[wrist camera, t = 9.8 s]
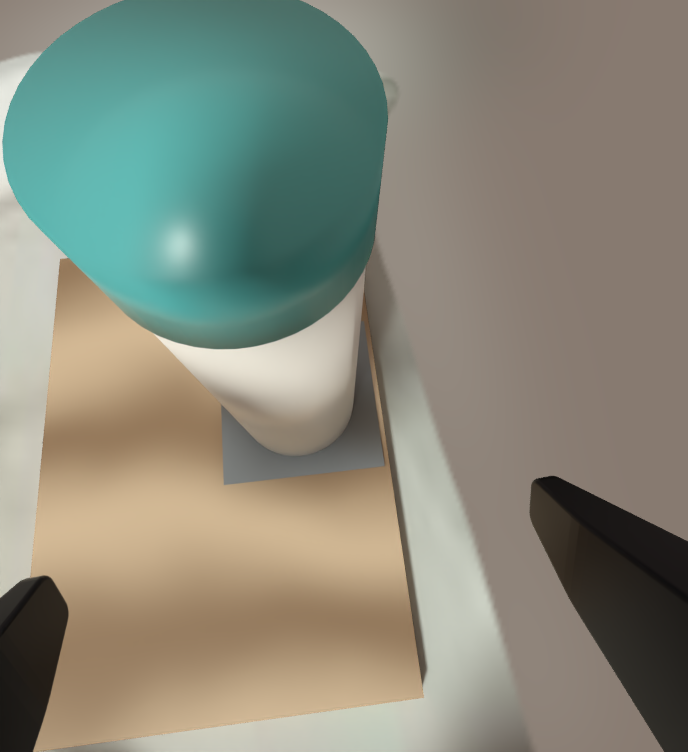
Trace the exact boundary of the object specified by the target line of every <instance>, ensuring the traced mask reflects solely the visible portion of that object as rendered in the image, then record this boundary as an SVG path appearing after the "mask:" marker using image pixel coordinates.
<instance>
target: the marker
mask: <svg viewBox="0 0 688 752" xmlns="http://www.w3.org/2000/svg"><path fill="white" fill-rule="evenodd" d="M387 124H388V112H387V100H386V95H385V91H384V87H383V83H382V80H381V78H380V75H379V73H378V71H377V68H376V66H375V64H374V63H373V61H372V59H371V58H370V57H369V55H368V53H367V51H366V50H365V49H364V48H363V46H362V45H361V44H360V43H359V42H358V40H357V39H356V38H355V37H354V36H353V35H352V34H351V33H350V32H349V31H348V30H346V29H345V28H344V27H343V26H342V25H341V24H340V23H339V22H337V21H336V20H334V19H333V18H331V17H330V16H328V15H327V14H325V13H324V12H322V11H320V10H319V9H317V8H315V7H313V6H311V5H309V4H307V3H305V2H303V1H300V0H124V1H121V2H118V3H116V4H113V5H111V6H109V7H107V8H105V9H103V10H101V11H98V12H97V13H94V14H93V15H91V16H90V17H88V18H86V19H84V20H83V21H81V22H79V23H78V24H76V25H75V26H74V27H72V28H71V29H70V30H68V31H67V32H65V33H64V34H63V35H61V36H60V37H59V38H58V39H57V40H56V41H55V42H54V43H52V44H51V45H50V46H49V47H48V48H47V49H46V50H45V51H44V52H43V53H42V54H41V55H40V57H39V58H38V59H37V60H36V61H35V62H34V64H33V65H32V66H31V67H30V68H29V70H28V72H27V73H26V75H25V76H24V78H23V79H22V81H21V82H20V84H19V86H18V88H17V90H16V92H15V94H14V96H13V99H12V101H11V103H10V106H9V110H8V113H7V116H6V120H5V125H4V133H3V159H4V165H5V169H6V173H7V178H8V181H9V184H10V186H11V188H12V190H13V193H14V195H15V197H16V199H17V201H18V202H19V204H20V205H21V207H22V208H23V210H24V211H25V213H26V214H27V216H28V217H29V218H30V219H31V220H32V221H33V222H34V223H35V224H36V225H37V227H38V228H39V229H40V230H41V231H42V232H43V233H44V234H45V235H46V236H47V237H48V238H49V239H50V240H51V241H52V242H53V243H54V244H55V245H56V246H57V247H58V248H59V249H60V250H61V251H62V252H63V253H64V254H65V255H66V256H67V257H68V258H69V259H70V260H71V261H72V262H73V263H74V264H75V265H76V266H77V267H78V268H79V269H80V270H81V271H82V272H83V273H84V274H85V275H86V276H87V277H88V278H89V279H91V280H92V281H93V282H94V283H95V284H96V285H97V286H98V287H99V288H100V289H101V290H102V291H103V292H104V293H105V294H106V295H107V296H108V297H109V298H110V299H111V300H112V301H113V302H114V303H115V304H116V305H117V306H118V307H119V308H120V309H121V310H122V311H123V312H124V313H125V314H126V315H127V316H128V317H129V318H131V319H132V320H133V321H135V322H136V323H137V324H139V325H140V326H141V327H143V328H145V329H147V330H148V331H150V332H152V333H153V334H154V335H155V336H156V337H157V338H158V339H159V340H160V341H161V342H162V343H163V344H164V345H165V346H166V347H167V348H168V349H169V350H170V351H171V352H172V353H173V354H174V355H175V357H176V358H177V359H178V360H179V361H180V362H181V363H182V364H183V365H184V366H185V367H186V368H187V369H188V370H189V371H190V372H191V373H192V374H193V375H194V376H195V377H196V378H197V379H198V380H199V381H200V383H201V384H202V385H203V386H204V387H205V388H206V389H207V390H208V391H209V392H210V393H211V394H212V395H213V396H214V397H215V398H216V399H217V400H218V401H219V402H220V403H221V404H222V405H223V406H224V407H225V409H226V410H227V411H228V412H229V413H230V414H231V415H232V416H233V417H234V418H235V419H236V420H237V421H238V422H239V423H240V424H241V425H242V426H243V427H244V428H245V429H246V430H247V431H248V432H249V433H250V434H251V436H252V437H253V438H254V439H255V440H256V441H257V442H258V443H260V444H261V445H262V446H263V447H265V448H267V449H269V450H270V451H273V452H275V453H278V454H282V455H286V456H304V455H309V454H313V453H316V452H318V451H321V450H323V449H324V448H326V447H328V446H329V445H331V444H332V443H333V442H334V441H335V440H336V439H337V438H338V437H339V436H340V435H341V434H342V433H343V431H344V430H345V428H346V426H347V425H348V422H349V420H350V417H351V414H352V410H353V401H354V390H355V379H356V369H357V358H358V347H359V336H360V326H361V315H362V304H363V293H364V283H365V272H366V264H367V262H368V260H369V257H370V254H371V251H372V247H373V243H374V239H375V230H376V221H377V212H378V203H379V194H380V186H381V177H382V167H383V159H384V150H385V141H386V133H387Z"/></svg>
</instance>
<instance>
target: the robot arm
mask: <svg viewBox="0 0 688 752" xmlns="http://www.w3.org/2000/svg"><path fill="white" fill-rule="evenodd" d="M530 518H531V521H532V524H533V526H534V528H535V530H536V532H537V535H538V537H539V539H540V541H541V543H542V545H543V547H544V549H545V551H546V553H547V555H548V557H549V559H550V561H551V563H552V565H553V567H554V569H555V571H556V573H557V575H558V577H559V579H560V581H561V583H562V585H563V587H564V589H565V591H566V593H567V595H568V597H569V599H570V601H571V602H572V604H573V606H574V607H575V609H576V611H577V612H578V614H579V615H580V617H581V619H582V620H583V622H584V623H585V625H586V627H587V628H588V630H589V632H590V633H591V635H592V636H593V638H594V640H595V641H596V643H597V644H598V646H599V648H600V649H601V651H602V653H603V654H604V656H605V657H606V659H607V660H608V662H609V664H610V665H611V667H612V669H613V670H614V672H615V673H616V675H617V677H618V678H619V680H620V681H621V683H622V685H623V686H624V688H625V689H626V691H627V693H628V694H629V696H630V697H631V699H632V701H633V702H634V704H635V705H636V707H637V709H638V710H639V712H640V714H641V715H642V717H643V718H644V720H645V722H646V723H647V725H648V726H649V728H650V730H651V731H652V733H653V734H654V736H655V738H656V739H657V741H658V742H659V744H660V746H661V747H662V749H663V750H664V752H688V541H686V540H684V539H682V538H680V537H678V536H676V535H673V534H672V533H670V532H668V531H666V530H664V529H662V528H660V527H658V526H656V525H654V524H651V523H650V522H647V521H645V520H643V519H641V518H639V517H637V516H635V515H633V514H631V513H629V512H627V511H625V510H623V509H621V508H619V507H617V506H615V505H613V504H611V503H609V502H607V501H605V500H603V499H601V498H599V497H597V496H595V495H593V494H591V493H589V492H587V491H585V490H583V489H581V488H579V487H577V486H575V485H573V484H571V483H569V482H567V481H565V480H563V479H561V478H559V477H556V476H548V477H543V478H538V479H535V480H534V481H533V482H532V485H531V497H530ZM68 617H69V610H68V605H67V603H66V601H65V599H64V598H63V596H62V594H61V593H60V591H59V589H58V588H57V586H56V584H55V583H54V581H53V579H52V578H51V577H49V576H47V575H42V576H37V577H32V578H27V579H24V580H22V581H20V582H19V583H17V584H16V585H15V586H14V587H13V588H11V589H10V590H9V591H8V592H7V593H6V594H4V595H3V596H2V597H1V598H0V752H33V750H34V747H35V744H36V741H37V738H38V735H39V732H40V729H41V726H42V723H43V720H44V717H45V713H46V710H47V706H48V703H49V699H50V695H51V691H52V687H53V682H54V678H55V674H56V669H57V665H58V661H59V657H60V652H61V648H62V644H63V639H64V635H65V631H66V627H67V622H68Z"/></svg>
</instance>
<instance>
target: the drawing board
mask: <svg viewBox="0 0 688 752" xmlns="http://www.w3.org/2000/svg"><path fill="white" fill-rule="evenodd" d="M42 575H47V576H49V577H51V578H52V579H53V581H54V583H55V584H56V586H57V588H58V589H59V591H60V593H61V594H62V596H63V598H64V599H65V601H66V603H67V605H68V610H69V617H68V622H67V627H66V631H65V635H64V639H63V644H62V648H61V652H60V657H59V661H58V665H57V669H56V674H55V678H54V682H53V687H52V691H51V695H50V699H49V703H48V706H47V710H46V713H45V717H44V720H43V723H42V726H41V729H40V732H39V735H38V738H37V741H36V744H35V747H34V750H33V752H39V751H46V750H53V749H60V748H67V747H75V746H82V745H89V744H96V743H103V742H110V741H117V740H125V739H132V738H139V737H146V736H153V735H160V734H168V733H175V732H182V731H189V730H196V729H203V728H210V727H218V726H225V725H232V724H239V723H246V722H253V721H261V720H268V719H275V718H282V717H289V716H296V715H303V714H311V713H318V712H325V711H332V710H339V709H346V708H354V707H361V706H368V705H375V704H382V703H389V702H396V701H404V700H411V699H418V698H424V695H423V688H422V681H421V674H420V668H419V661H418V654H417V647H416V640H415V634H414V627H413V620H412V613H411V606H410V600H409V593H408V586H407V579H406V572H405V566H404V559H403V552H402V545H401V538H400V532H399V525H398V518H397V511H396V504H395V498H394V491H393V484H392V477H391V470H390V464H389V457H388V450H387V443H386V436H385V430H384V423H383V416H382V409H381V402H380V396H379V389H378V382H377V375H376V368H375V362H374V355H373V348H372V341H371V335H370V328H369V321H368V314H367V307H366V301H365V294H364V293H363V304H362V315H361V326H360V336H359V347H358V358H357V369H356V379H355V390H354V401H353V410H352V414H351V417H350V420H349V422H348V425H347V426H346V428H345V430H344V431H343V433H342V434H341V435H340V436H339V437H338V438H337V439H336V440H335V441H334V442H333V443H332V444H331V445H329V446H328V447H326V448H324V449H323V450H321V451H318V452H316V453H313V454H309V455H304V456H286V455H282V454H278V453H275V452H273V451H270V450H269V449H267V448H265V447H263V446H262V445H261V444H260V443H258V442H257V441H256V440H255V439H254V438H253V437H252V436H251V434H250V433H249V432H248V431H247V430H246V429H245V428H244V427H243V426H242V425H241V424H240V423H239V422H238V421H237V420H236V419H235V418H234V417H233V416H232V415H231V414H230V413H229V412H228V411H227V410H226V409H225V407H224V406H223V405H222V404H221V403H220V402H219V401H218V400H217V399H216V398H215V397H214V396H213V395H212V394H211V393H210V392H209V391H208V390H207V389H206V388H205V387H204V386H203V385H202V384H201V383H200V381H199V380H198V379H197V378H196V377H195V376H194V375H193V374H192V373H191V372H190V371H189V370H188V369H187V368H186V367H185V366H184V365H183V364H182V363H181V362H180V361H179V360H178V359H177V358H176V357H175V355H174V354H173V353H172V352H171V351H170V350H169V349H168V348H167V347H166V346H165V345H164V344H163V343H162V342H161V341H160V340H159V339H158V338H157V337H156V336H155V335H154V334H153V333H152V332H150V331H148V330H147V329H145V328H143V327H141V326H140V325H139V324H137V323H136V322H135V321H133V320H132V319H131V318H129V317H128V316H127V315H126V314H125V313H124V312H123V311H122V310H121V309H120V308H119V307H118V306H117V305H116V304H115V303H114V302H113V301H112V300H111V299H110V298H109V297H108V296H107V295H106V294H105V293H104V292H103V291H102V290H101V289H100V288H99V287H98V286H97V285H96V284H95V283H94V282H93V281H92V280H91V279H89V278H88V277H87V276H86V275H85V274H84V273H83V272H82V271H81V270H80V269H79V268H78V267H77V266H76V265H75V264H74V263H73V262H72V261H71V260H70V259H69V258H67V259H60V266H59V277H58V288H57V298H56V309H55V320H54V330H53V341H52V352H51V363H50V373H49V384H48V395H47V405H46V416H45V427H44V437H43V448H42V459H41V469H40V480H39V491H38V502H37V512H36V523H35V534H34V544H33V555H32V566H31V576H30V578H32V577H37V576H42Z"/></svg>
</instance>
